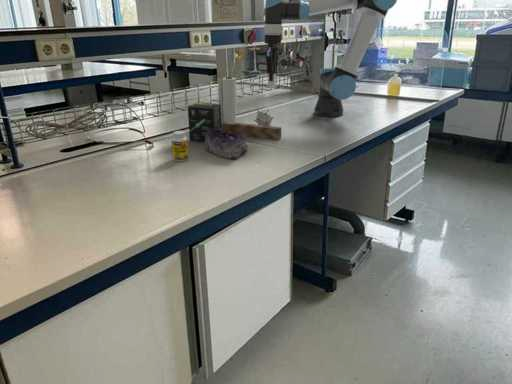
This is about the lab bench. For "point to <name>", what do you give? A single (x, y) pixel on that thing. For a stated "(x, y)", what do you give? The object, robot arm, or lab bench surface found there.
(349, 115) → the lab bench surface
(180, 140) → the supplement bottle
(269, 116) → the game die
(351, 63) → the robot arm
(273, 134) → the board
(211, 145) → the geode
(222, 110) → the paper towel roll
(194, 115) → the tampon box
